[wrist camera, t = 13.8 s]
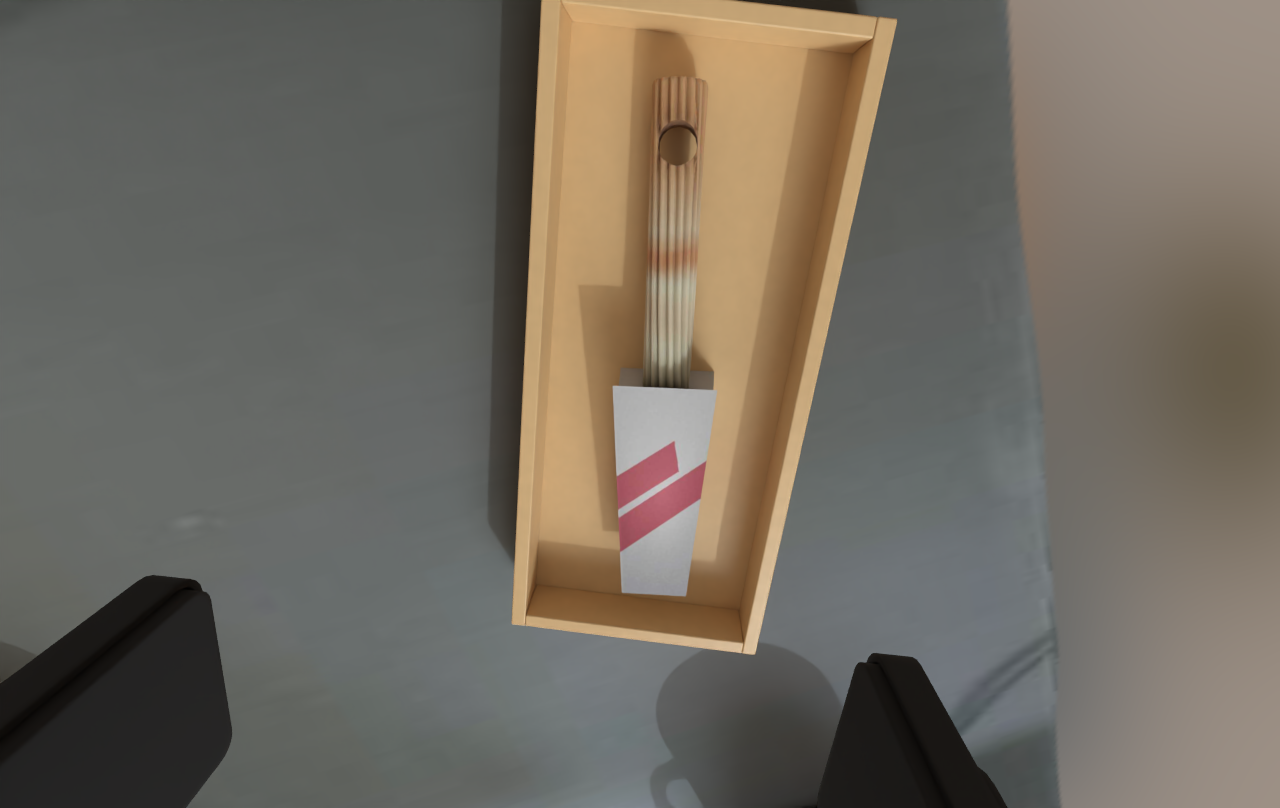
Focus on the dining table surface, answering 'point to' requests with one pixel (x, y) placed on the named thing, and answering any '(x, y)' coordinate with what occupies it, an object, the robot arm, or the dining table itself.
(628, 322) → the brush tray
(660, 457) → the folding fan
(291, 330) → the dining table surface
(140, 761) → the robot arm
